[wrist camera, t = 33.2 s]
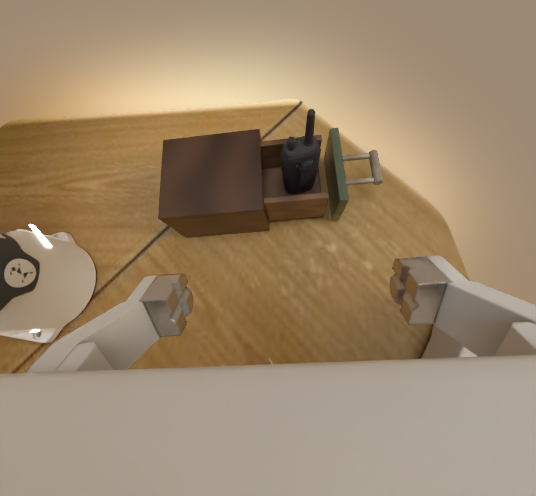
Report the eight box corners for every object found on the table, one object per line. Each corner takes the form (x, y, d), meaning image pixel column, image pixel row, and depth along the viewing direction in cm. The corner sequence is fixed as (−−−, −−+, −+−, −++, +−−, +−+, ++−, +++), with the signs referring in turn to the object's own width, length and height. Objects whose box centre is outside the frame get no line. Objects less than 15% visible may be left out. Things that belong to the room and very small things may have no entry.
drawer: (364, 154, 42) (378, 123, 35) (374, 216, 39) (392, 195, 32) (253, 166, 44) (246, 138, 37) (256, 226, 41) (248, 209, 34)
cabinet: (266, 164, 45) (259, 128, 36) (269, 230, 41) (263, 209, 33) (188, 172, 46) (163, 140, 37) (185, 237, 43) (158, 218, 34)
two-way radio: (312, 171, 41) (322, 95, 27) (320, 194, 40) (336, 128, 25) (280, 180, 41) (273, 110, 27) (287, 204, 40) (284, 144, 26)
